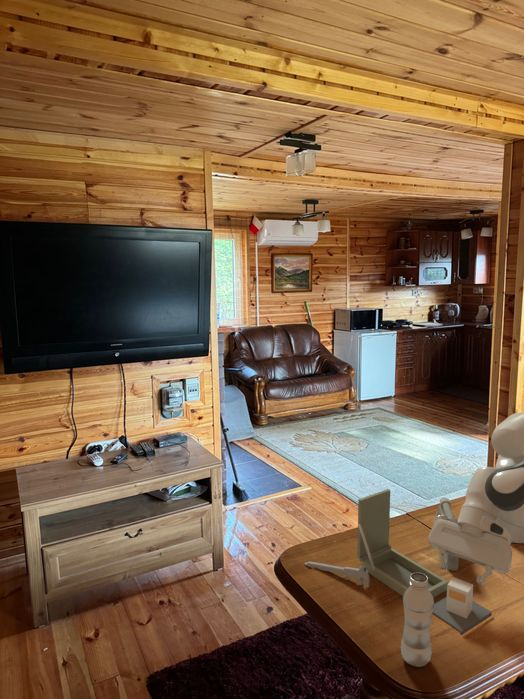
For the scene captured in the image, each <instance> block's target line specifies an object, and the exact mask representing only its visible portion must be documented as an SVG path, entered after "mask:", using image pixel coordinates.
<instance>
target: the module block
mask: <svg viewBox="0 0 524 699" xmlns="http://www.w3.org/2000/svg"><path fill="white" fill-rule="evenodd" d="M473 593H474V584H473V583H471V582H467V581H465V580H462V579H460V578H457V577H454V576H452V578H451V579H450V580H449V581H448V585H447V591H446V597H447V603H446V610H447V611H450V612H452V613H454V614H457V615H459V616H461V617H464V618H466V619H467V617H468V616H469V614H470V612H471V611H472V601H473V600H474V599H473V598H474V595H473Z"/></svg>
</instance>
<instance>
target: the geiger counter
mask: <svg viewBox="0 0 524 699" xmlns="http://www.w3.org/2000/svg"><path fill="white" fill-rule="evenodd" d="M451 506H452V504H451V502H450V499H449V498H448V497H441V498H440V499H439V505H438V510H435V516H436V517H437V516H441V515H446V516H448V517H452V518H456V515H455V514H454V512H453V511H452V507H451ZM440 518H441V517H440ZM443 558H444V561H445V562H446V563H447V564H448V565H447V567H446V570H449V571H453V572H455V571H459V564H460V563H461V561H460V557H457V556H454V555H452V554H449V553H446V556H443Z"/></svg>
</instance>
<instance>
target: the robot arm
mask: <svg viewBox="0 0 524 699" xmlns="http://www.w3.org/2000/svg"><path fill="white" fill-rule="evenodd" d="M490 439H491V441H490V442H491V446H492V448H493V450H494V452H495V453H496V454H498V456H497V460H496V463H495V467H493V466H482V467H479V468H477V469H476V471H474V473H473V474H472V476H471V478H470V481H469V484H468V487H467V489H466V492H465V501H464V503H463V504H462V505H461V508H460V511H459V515H458V518H456V517H455V518H452V517H448V516H446V515H441V516H436V517H435V518H434V520H433V523H432V528H431V530H430V532H429V535H428V536H427V537H428V538H427V542H428V544H429V546H430V547H431V548H433V549H436V550H438V555H439V563H438V568H439V569H441V570H444V571H447V565H448V564H447V563H446V562H445V560H444V557H443V556H446V553H449V554H452V555H454V556H457V557H459V559H464V560H465V561H469V562H471V563H474V564H477V565H480V566H482V567H484V569H485V572H484V573H482V574H479V573H478V574H477V578H476V583H477V584H480V585H482V586H484V585H485V582H486V580H487V578H489V577H491V575H493V572H494V571H496V572H498V573H502V574H505V575H506V574H508V573H509V572H510V571H511V569H512V568H511V567H512V560H513V550H512V547H511V544H512V543H515V544H524V412H516V413H513V414H510V415H509V416H507V418H505V419H504V420H502V422H500V423H499V424H497V426H496V427H495V428H494V430H493V432H492V433H491V438H490ZM440 517H441V518H440Z"/></svg>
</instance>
